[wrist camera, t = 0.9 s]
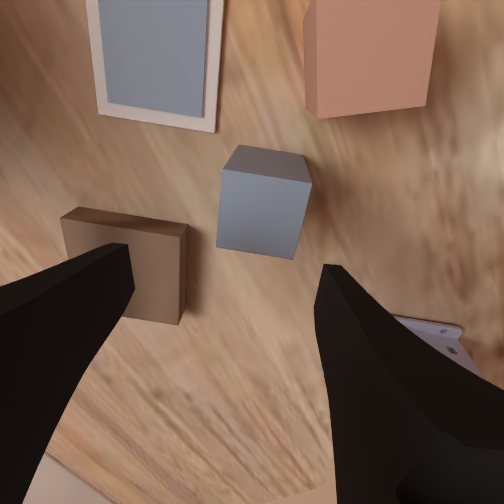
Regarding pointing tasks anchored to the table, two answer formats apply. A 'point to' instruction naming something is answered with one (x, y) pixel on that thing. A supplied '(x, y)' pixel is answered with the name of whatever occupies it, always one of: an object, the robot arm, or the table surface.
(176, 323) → the walnut slab
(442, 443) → the robot arm
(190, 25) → the tile
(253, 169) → the blue block
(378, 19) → the terracotta block
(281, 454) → the table surface
